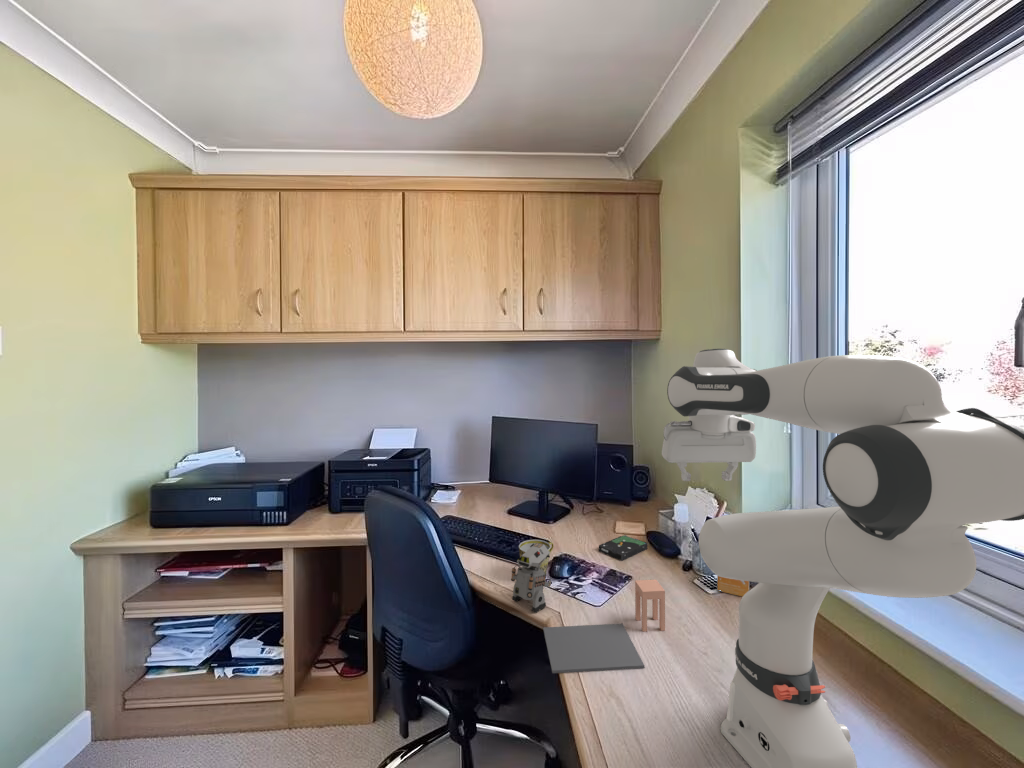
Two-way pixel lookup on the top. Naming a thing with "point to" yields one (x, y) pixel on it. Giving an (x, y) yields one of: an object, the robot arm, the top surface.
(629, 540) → the disk drive
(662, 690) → the top surface
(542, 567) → the ceramic cup
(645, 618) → the miniature stool
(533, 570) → the figurine
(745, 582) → the small box
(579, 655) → the charcoal mat
